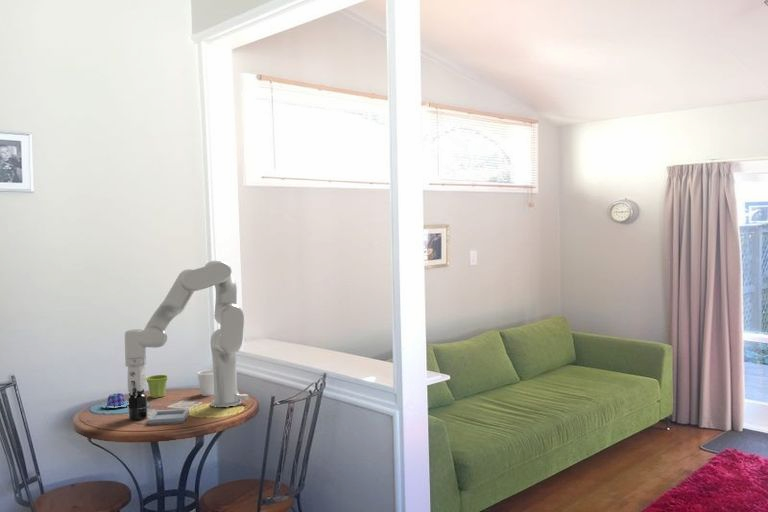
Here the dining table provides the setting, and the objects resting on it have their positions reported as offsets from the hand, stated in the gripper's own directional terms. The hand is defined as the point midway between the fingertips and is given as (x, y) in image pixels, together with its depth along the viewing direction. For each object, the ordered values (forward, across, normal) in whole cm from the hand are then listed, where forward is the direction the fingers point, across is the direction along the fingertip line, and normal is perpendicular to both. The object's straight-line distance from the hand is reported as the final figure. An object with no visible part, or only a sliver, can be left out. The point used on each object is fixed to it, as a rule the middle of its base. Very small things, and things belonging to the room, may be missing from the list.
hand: (136, 405), depth 260 cm
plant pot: (+5, +36, 0) cm, 37 cm away
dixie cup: (+5, +35, -22) cm, 42 cm away
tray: (+5, -4, -13) cm, 15 cm away
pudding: (+6, +22, +14) cm, 27 cm away
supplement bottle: (+5, 0, 0) cm, 5 cm away
